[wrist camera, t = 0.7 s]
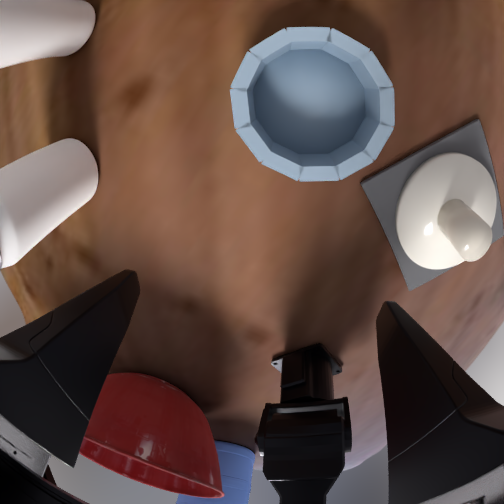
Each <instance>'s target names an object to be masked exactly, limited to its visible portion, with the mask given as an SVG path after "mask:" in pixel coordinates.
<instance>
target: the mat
mask: <svg viewBox="0 0 504 504" xmlns="http://www.w3.org/2000/svg"><path fill="white" fill-rule="evenodd" d="M447 152H458V153H462V154H465V155H468V156H470V157H472V158H473V159H475V160H477V161H478V162H480V163H481V164H482V165H483V166H484V167H485V168H486V170H487V171H488V172H489V174H490V176H491V178H492V180H493V183H494V186H495V190H496V197H497V205H496V213H495V218H494V222H493V225H492V227H491V229H492V242H491V244H492V243H493V242H495V241H496V240H498V239H499V238H501V237H502V236H504V230H503V221H502V213H501V206H500V200H499V194H498V189H497V183H496V178H495V174H494V169H493V165H492V161H491V157H490V153H489V149H488V146H487V142H486V139H485V136H484V132H483V129H482V126H481V123H480V120H479V119H476V120H474V121H472V122H470V123H468V124H466V125H464V126H463V127H461V128H459V129H457V130H455V131H453V132H452V133H450V134H448V135H446V136H444V137H442V138H441V139H439V140H437V141H435V142H433V143H431V144H430V145H428V146H426V147H424V148H422V149H421V150H419V151H417V152H415V153H413V154H411V155H410V156H408V157H406V158H404V159H402V160H401V161H399V162H397V163H395V164H393V165H391V166H390V167H388V168H386V169H384V170H382V171H381V172H379V173H377V174H375V175H373V176H372V177H370V178H368V179H366V180H364V181H363V182H361V183H360V184H361V186H362V187H363V189H364V191H365V193H366V195H367V197H368V199H369V201H370V203H371V205H372V207H373V209H374V211H375V213H376V215H377V217H378V219H379V221H380V223H381V225H382V227H383V230H384V232H385V234H386V236H387V238H388V241H389V243H390V245H391V247H392V250H393V252H394V254H395V257H396V259H397V261H398V264H399V266H400V269H401V271H402V274H403V276H404V279H405V281H406V284H407V286H408V289H409V291H411V290H413V289H415V288H417V287H419V286H421V285H422V284H424V283H426V282H428V281H430V280H432V279H434V278H435V277H437V276H439V275H441V274H442V273H444V272H446V271H448V270H449V269H451V268H453V267H455V266H456V265H455V266H453V267H450V268H446V269H428V268H424V267H422V266H420V265H418V264H416V263H415V262H413V261H412V260H411V259H410V258H409V257H408V255H407V254H406V253H405V251H404V249H403V248H402V246H401V244H400V242H399V240H398V237H397V233H396V228H395V212H396V207H397V202H398V199H399V196H400V193H401V191H402V189H403V187H404V185H405V183H406V181H407V180H408V178H409V177H410V176H411V174H412V173H413V172H414V171H415V170H416V169H417V168H418V167H419V166H420V165H421V164H422V163H423V162H425V161H426V160H428V159H430V158H431V157H434V156H436V155H438V154H442V153H447Z"/></svg>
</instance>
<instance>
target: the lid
mask: <svg viewBox="0 0 504 504" xmlns="http://www.w3.org/2000/svg"><path fill="white" fill-rule="evenodd" d="M496 205H497V197H496V190H495V186H494V183H493V180H492V178H491V176H490V174H489V172H488V171H487V170H486V168H485V167H484V166H483V165H482V164H481V163H480V162H478V161H477V160H475V159H473V158H472V157H470V156H468V155H465V154H462V153H458V152H447V153H442V154H438V155H436V156H434V157H431V158H430V159H428V160H426V161H425V162H423V163H422V164H421V165H420V166H419V167H418V168H417V169H416V170H415V171H414V172H413V173H412V174H411V176H410V177H409V178H408V180H407V181H406V183H405V185H404V187H403V189H402V191H401V193H400V196H399V199H398V202H397V207H396V212H395V228H396V233H397V237H398V240H399V242H400V244H401V246H402V248H403V249H404V251H405V253H406V254H407V255H408V257H409V258H410V259H411V260H412V261H413V262H415V263H416V264H418V265H420V266H422V267H424V268H428V269H446V268H450V267H453V266H455V265H458V264H460V263H462V262H463V261H469V262H471V261H475V260H478V259H479V258H481V257H482V256H483V255H484V254H485V253H486V252H487V250H488V249H489V247H490V245H491V242H492V229H491V227H492V225H493V222H494V218H495V213H496Z"/></svg>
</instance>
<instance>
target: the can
mask: <svg viewBox="0 0 504 504" xmlns="http://www.w3.org/2000/svg"><path fill="white" fill-rule="evenodd" d="M97 185H98V168H97V164H96V161H95V158H94V156H93V154H92V153H91V151H90V150H89V149H88V147H87V146H86V145H85V144H83V143H82V142H80V141H79V140H76V139H72V138H67V139H63V140H60V141H58V142H55V143H53V144H50V145H48V146H46V147H43V148H41V149H39V150H37V151H35V152H32V153H30V154H28V155H26V156H24V157H22V158H20V159H18V160H16V161H14V162H12V163H10V164H8V165H6V166H4V167H3V168H1V169H0V270H1V268H4V267H8V266H11V265H14V264H15V263H16V262H18V261H19V260H20V259H21V258H22V257H23V256H24V255H25V254H26V253H27V252H29V251H30V250H31V249H32V248H33V247H34V246H35V245H36V244H37V243H38V242H40V241H41V240H42V239H43V238H44V237H45V236H46V235H47V234H49V233H50V232H51V231H52V230H53V229H54V228H56V227H57V226H58V225H59V224H60V223H62V222H63V221H64V220H65V219H66V218H68V217H69V216H70V215H71V214H73V213H74V212H75V211H76V210H78V209H79V208H80V207H81V206H83V205H84V204H85V203H86V202H88V201H89V200H90V199H91V198H92V197H93V195H94V194H95V191H96V189H97Z"/></svg>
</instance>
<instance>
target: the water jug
mask: <svg viewBox="0 0 504 504" xmlns="http://www.w3.org/2000/svg"><path fill="white" fill-rule="evenodd" d="M214 442H215V446H216V450H217V454H218V460H219V466H220V473H221V481H222V491H223V492H224V494H225V495H224V496H223V497H221V498H203V497H195V496H189V495H184V494H179V496H178V500H177V502H176V504H248V500H249V493H250V490H251V478H252V471H253V463H254V460H255V455H254V453H253V452H252V451H251V450H249V449H248V448H245V447H243V446H240V445H237V444H233V443H228V442H223V441H216V440H214Z"/></svg>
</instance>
